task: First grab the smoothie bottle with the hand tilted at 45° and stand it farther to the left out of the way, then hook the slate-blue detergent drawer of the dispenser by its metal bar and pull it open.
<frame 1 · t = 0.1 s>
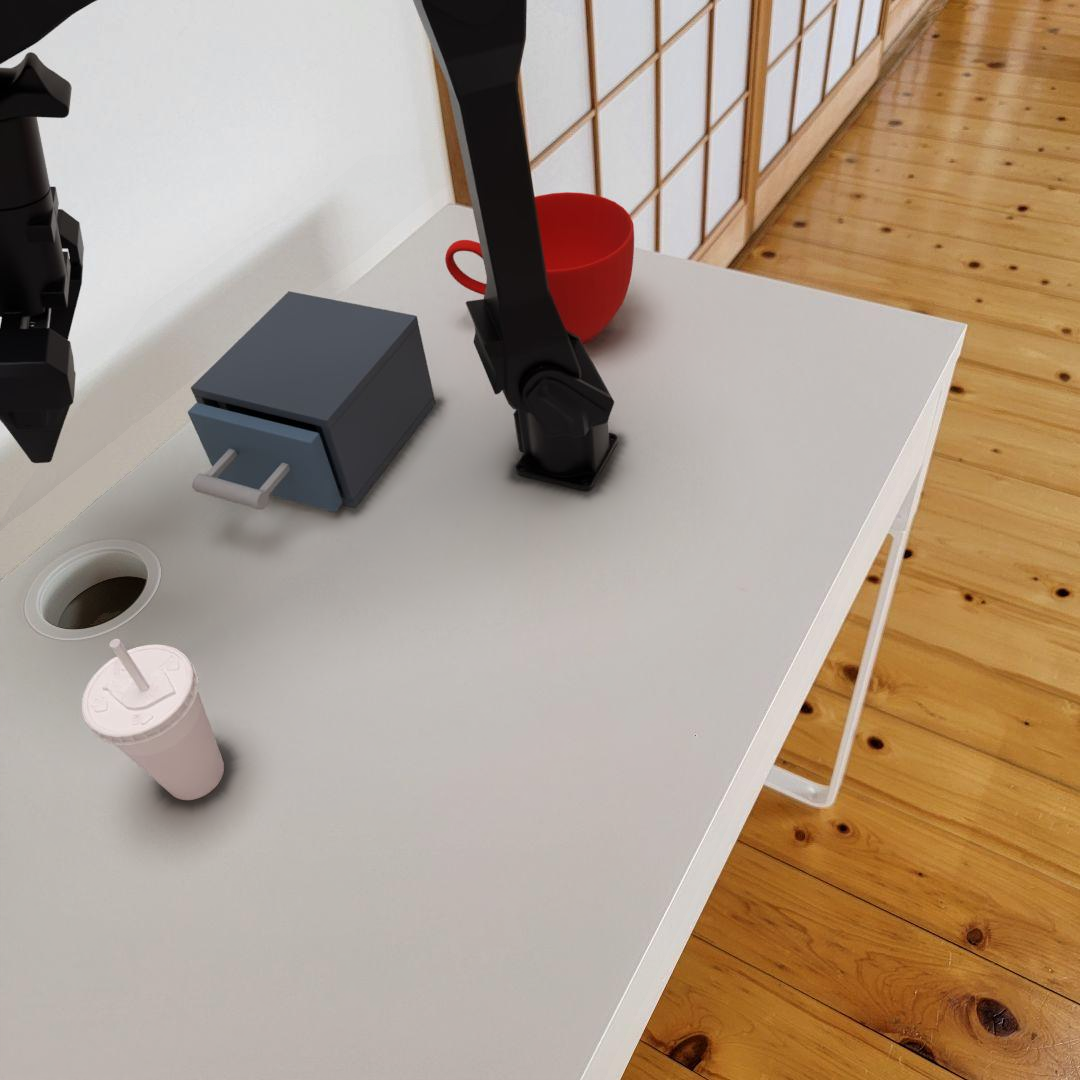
hand: (46, 416, 65), 15 cm above the table, tool pointing down, fingers open, 9 cm apart
dispenser: (334, 437, 85), on the table
smoothie: (196, 775, 64), on the table
ceramic cup: (546, 328, 93), on the table
drawer: (290, 430, 79), point 5 cm above the table, slide at 0.5 cm
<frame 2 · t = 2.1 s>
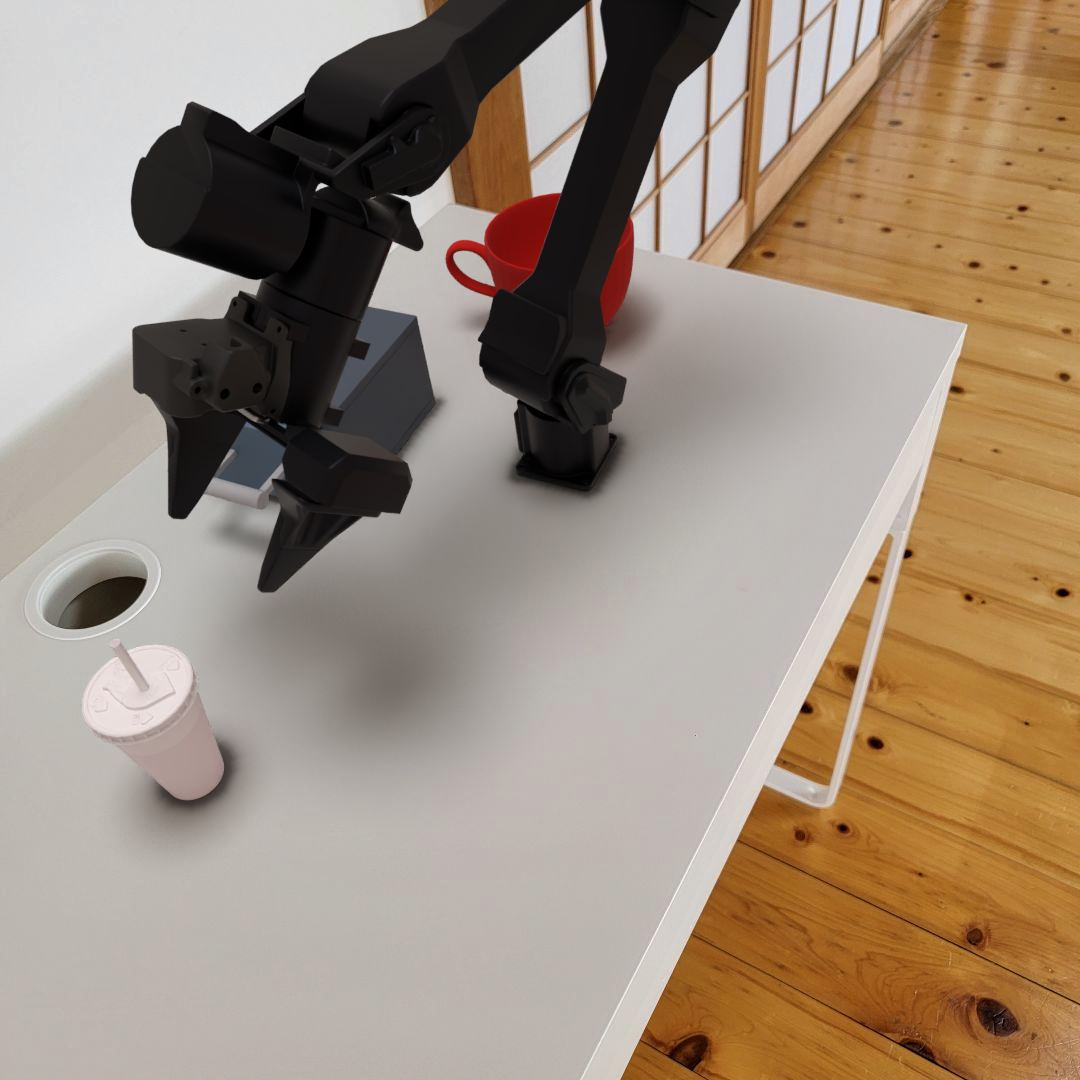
hand: (219, 553, 58), 13 cm above the table, tool tilted 45°, fingers open, 9 cm apart
nothing on the table moved.
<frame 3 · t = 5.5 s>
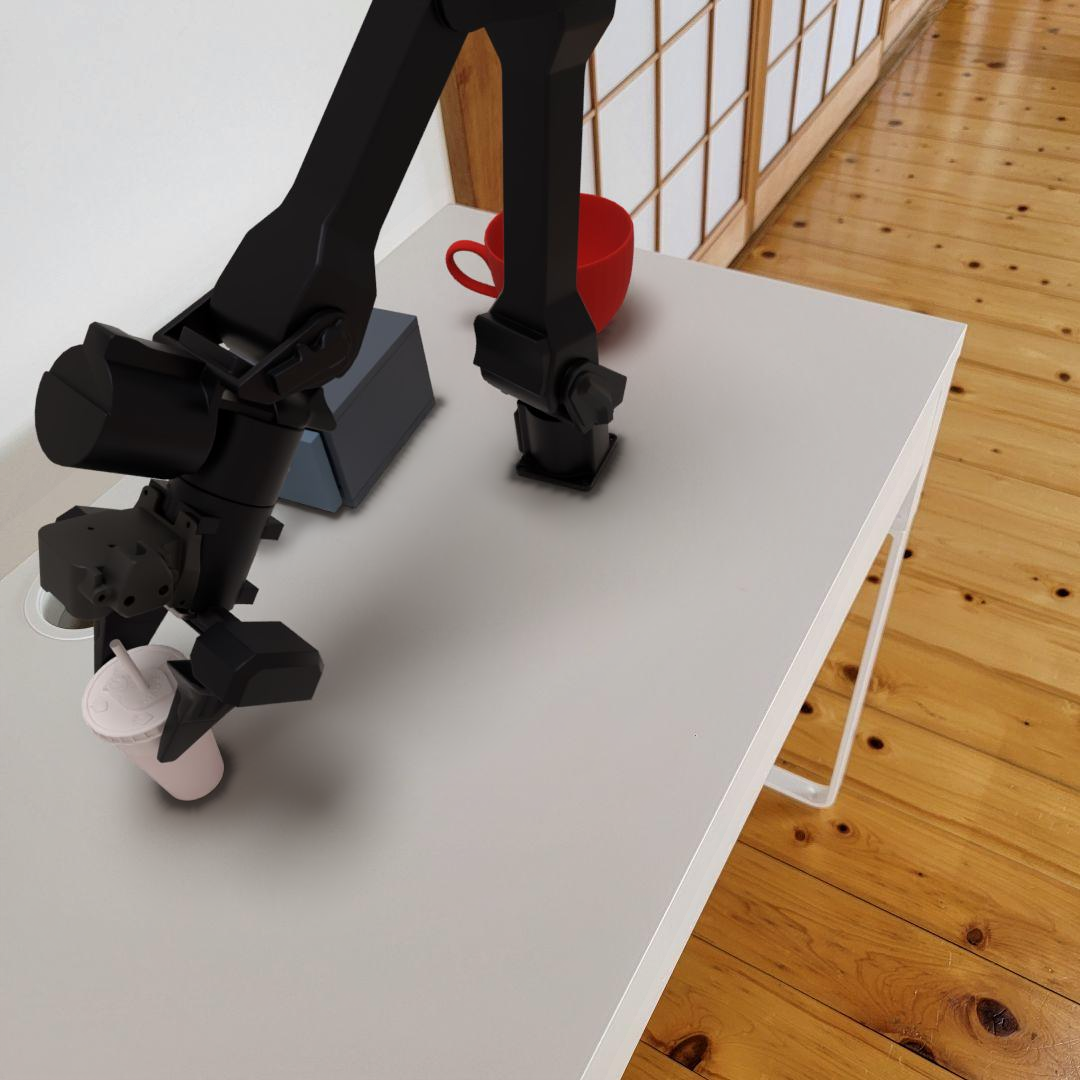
hand: (133, 729, 58), 7 cm above the table, tool tilted 45°, fingers closed on smoothie, 6 cm apart
smoothie: (196, 775, 64), on the table, touching gripper
everything else where it was.
when the fingers open (7 cm above the table, at t = 10.8 s): smoothie stays where it is, on the table.
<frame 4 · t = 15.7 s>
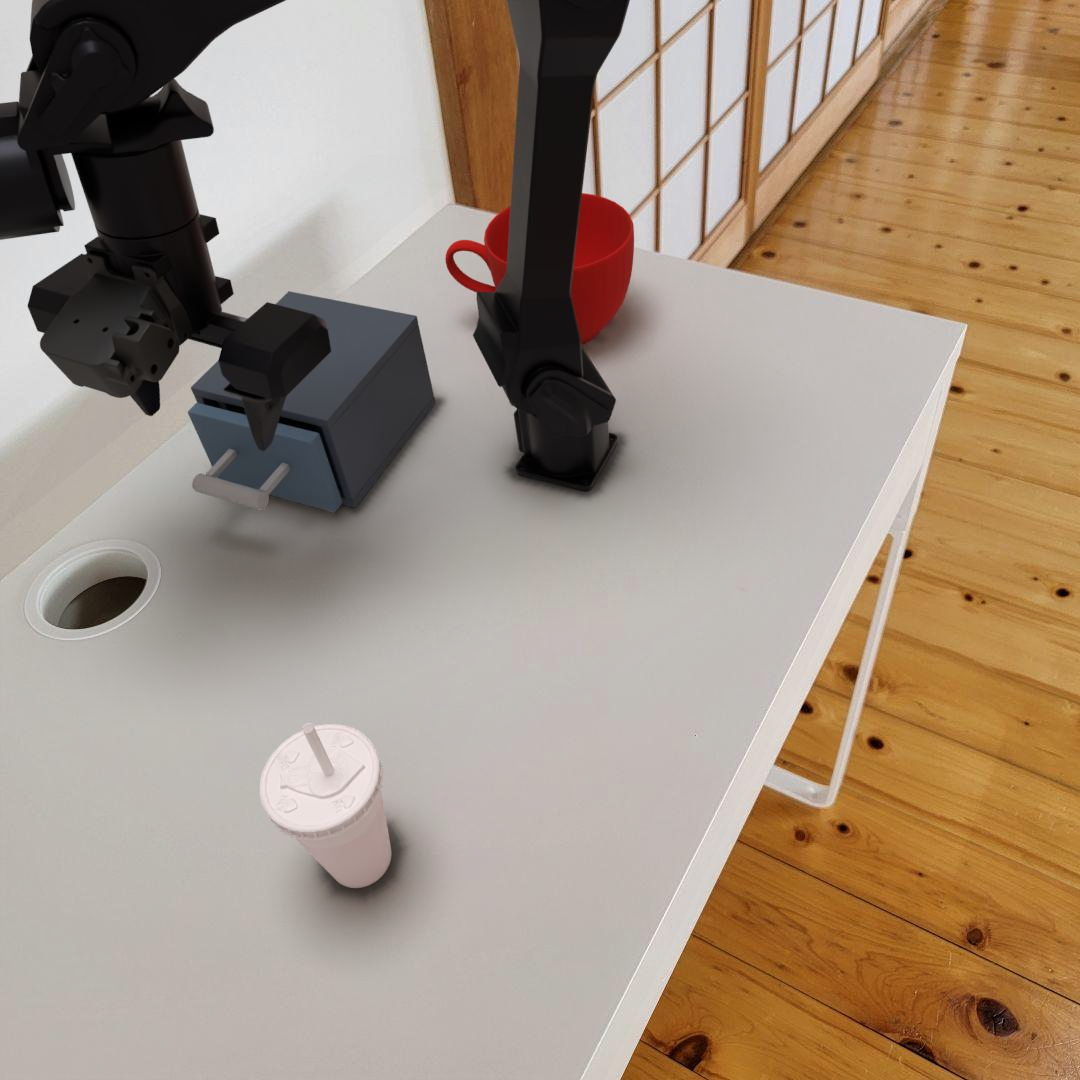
hand: (208, 429, 68), 12 cm above the table, tool pointing down, fingers open, 9 cm apart
smoothie: (361, 859, 59), on the table
everything else where it was.
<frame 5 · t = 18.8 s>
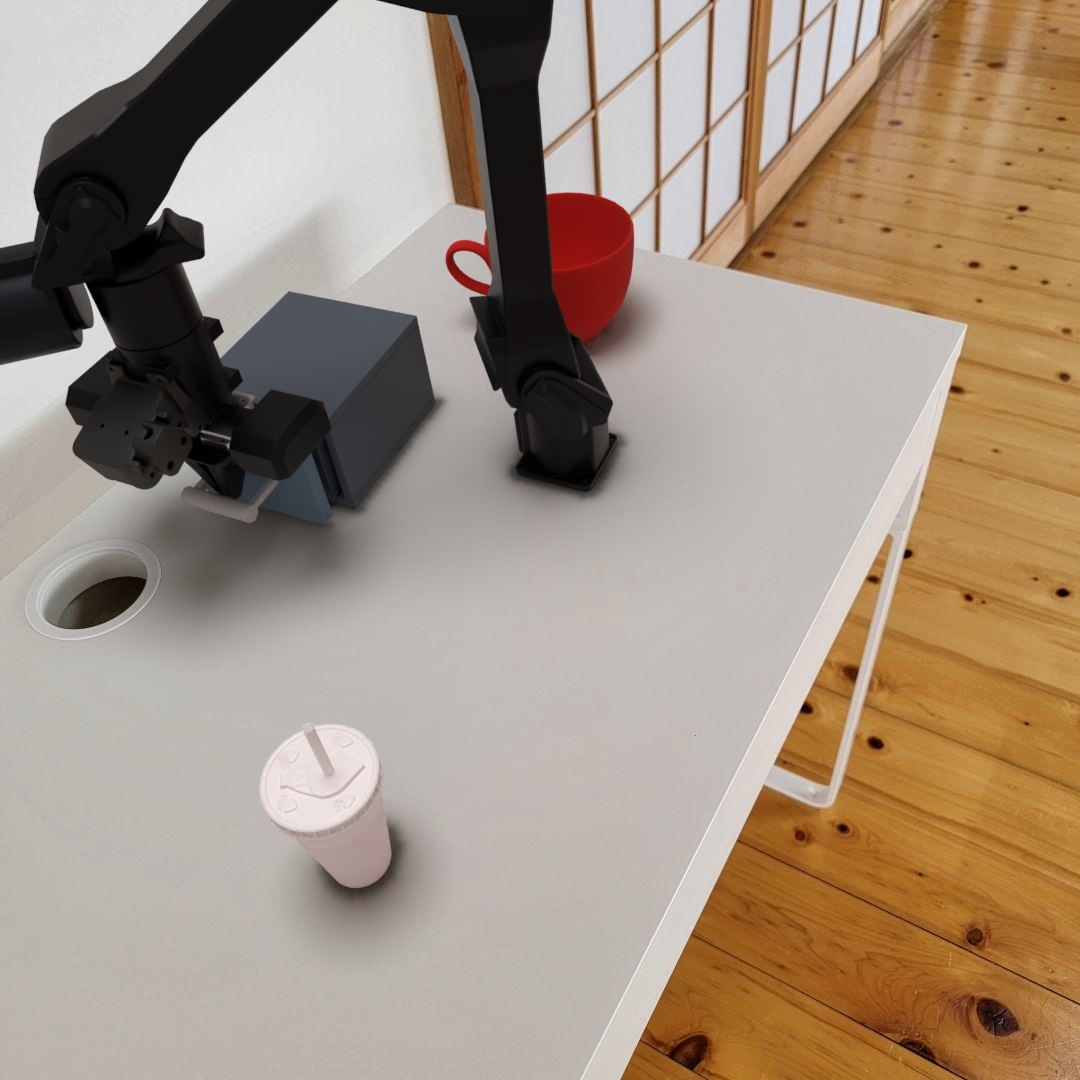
hand: (233, 497, 75), 4 cm above the table, tool pointing down, fingers closed, pressing on drawer
drawer: (280, 441, 78), point 5 cm above the table, slide at 1.9 cm, touching gripper
everything else where it was.
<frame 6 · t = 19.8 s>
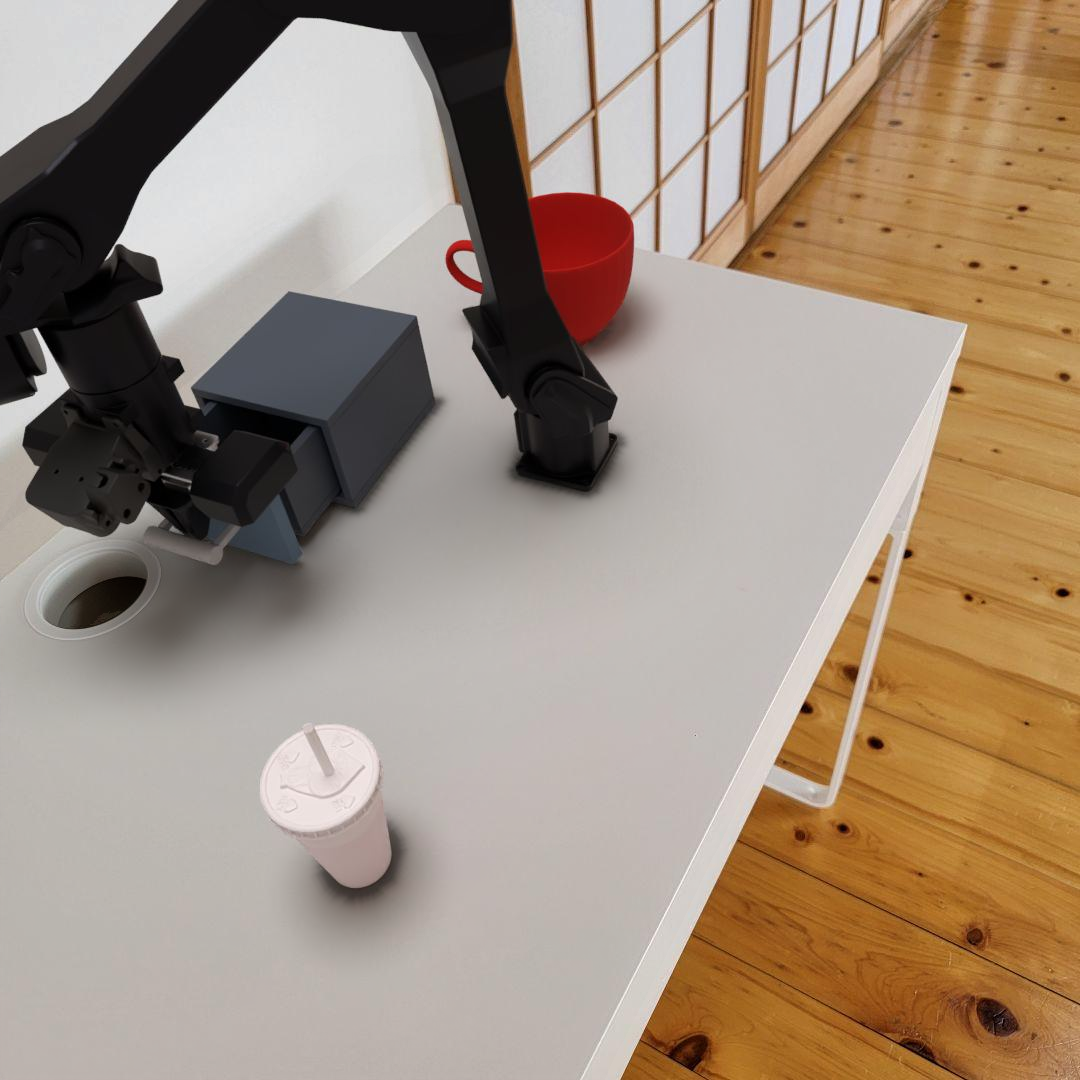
hand: (200, 538, 72), 4 cm above the table, tool pointing down, fingers closed, pressing on drawer
drawer: (248, 477, 76), point 5 cm above the table, slide at 6.2 cm, touching gripper
everything else where it was.
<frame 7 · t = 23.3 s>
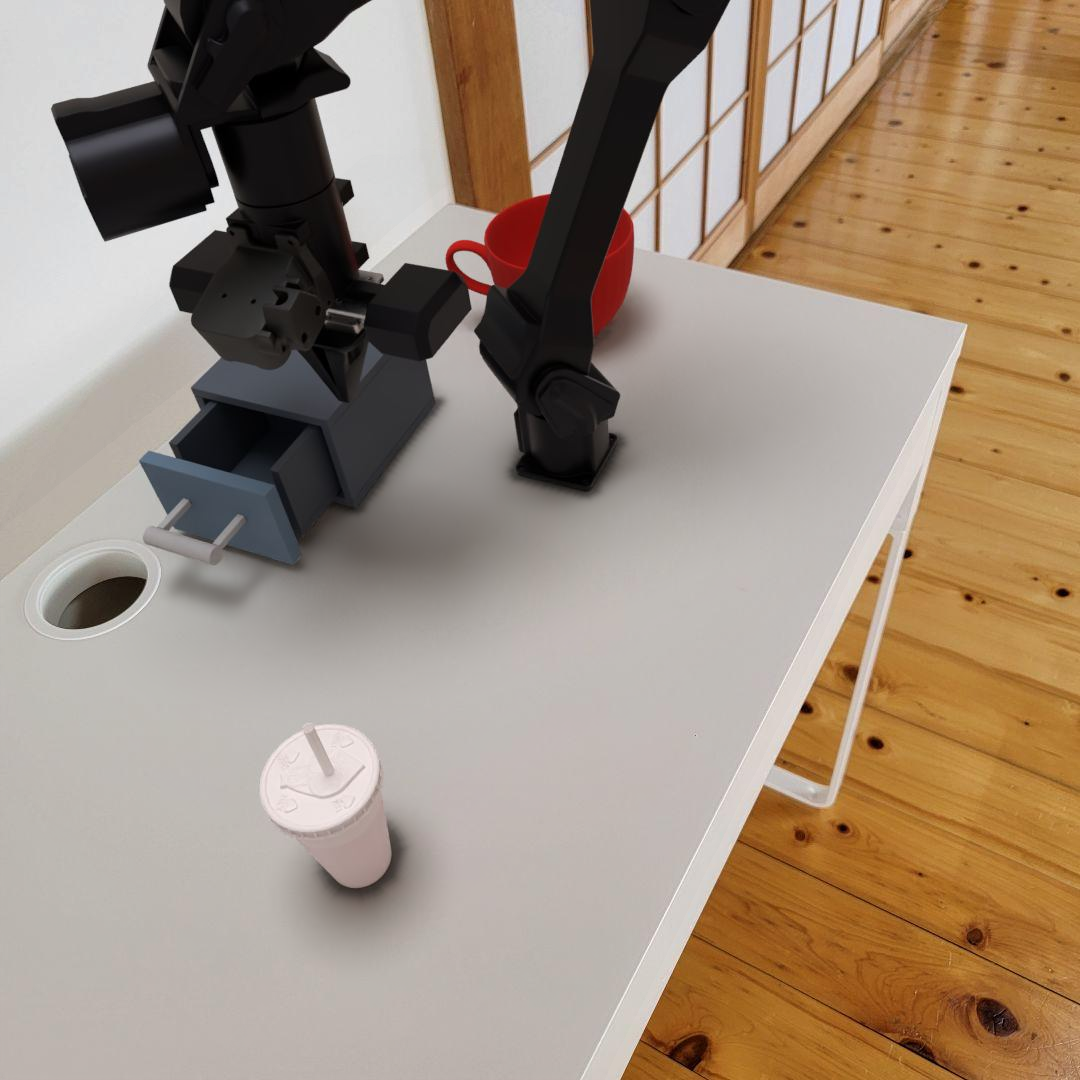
hand: (348, 398, 67), 13 cm above the table, tool pointing down, fingers closed
drawer: (248, 477, 76), point 5 cm above the table, slide at 6.2 cm
everything else where it was.
at the end: drawer slide at 6.2 cm; smoothie inside the target area (0.1 cm from its centre), on the table; smoothie tilted 0° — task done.
